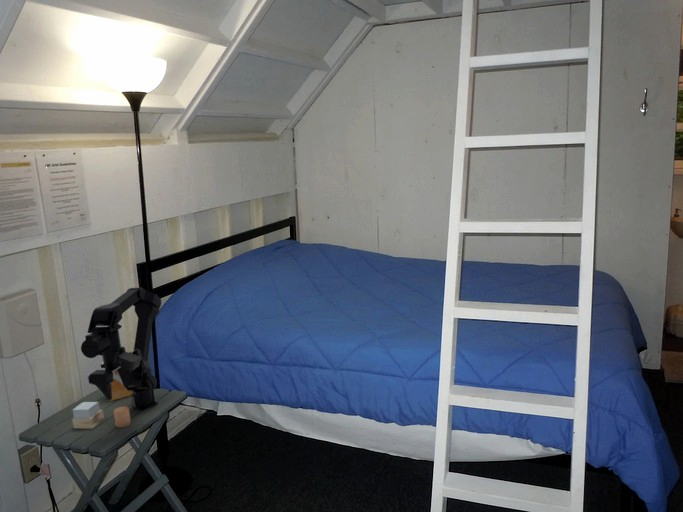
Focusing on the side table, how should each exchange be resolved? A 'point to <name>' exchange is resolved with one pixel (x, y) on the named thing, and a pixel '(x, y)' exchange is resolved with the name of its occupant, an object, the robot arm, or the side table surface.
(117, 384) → the small box
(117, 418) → the terracotta rounded cylinder
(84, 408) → the grey-blue top block
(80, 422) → the oak base block
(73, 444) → the side table surface
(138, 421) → the side table surface
